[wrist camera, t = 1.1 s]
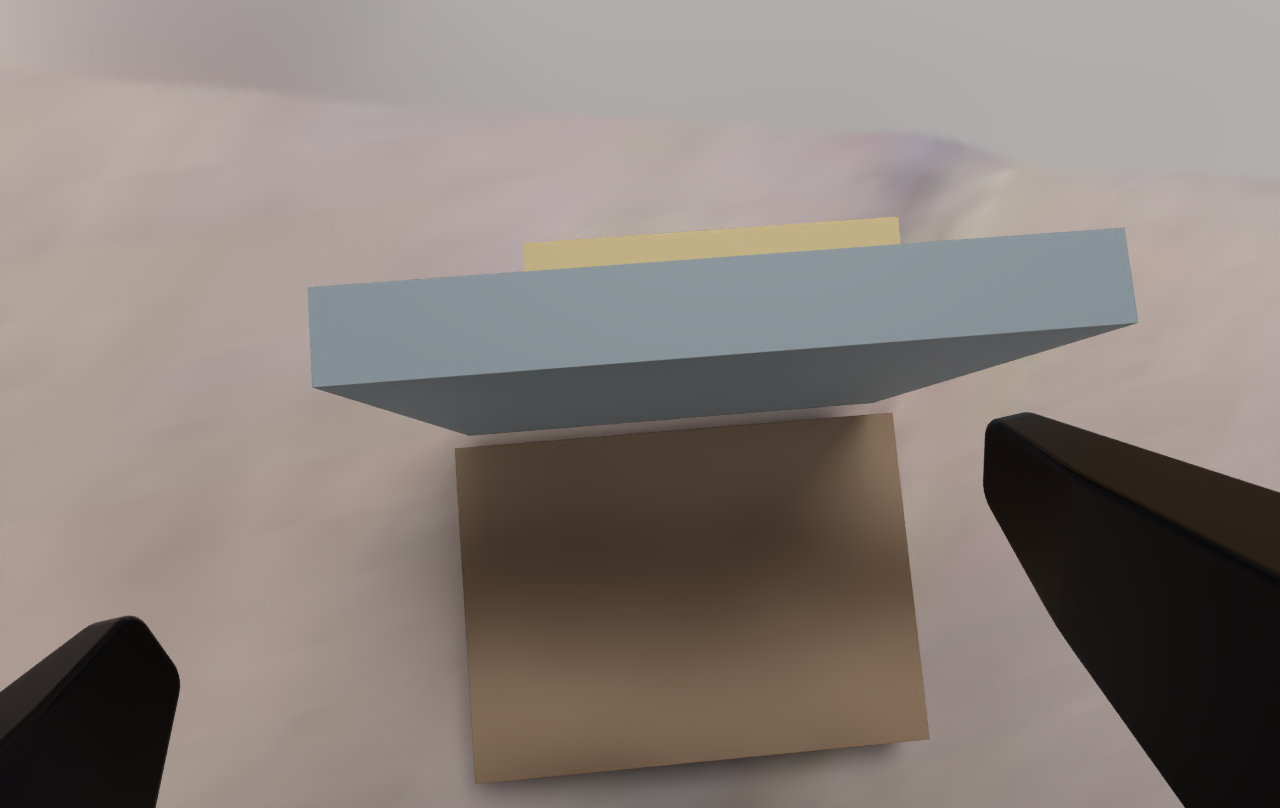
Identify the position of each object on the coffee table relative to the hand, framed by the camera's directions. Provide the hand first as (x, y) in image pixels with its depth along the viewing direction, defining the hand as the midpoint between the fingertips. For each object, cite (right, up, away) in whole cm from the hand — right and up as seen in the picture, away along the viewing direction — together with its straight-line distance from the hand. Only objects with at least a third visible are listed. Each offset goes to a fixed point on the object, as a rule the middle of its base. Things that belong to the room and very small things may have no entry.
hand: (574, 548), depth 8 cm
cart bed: (+2, -3, +13) cm, 14 cm away
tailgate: (+1, +2, +11) cm, 12 cm away
